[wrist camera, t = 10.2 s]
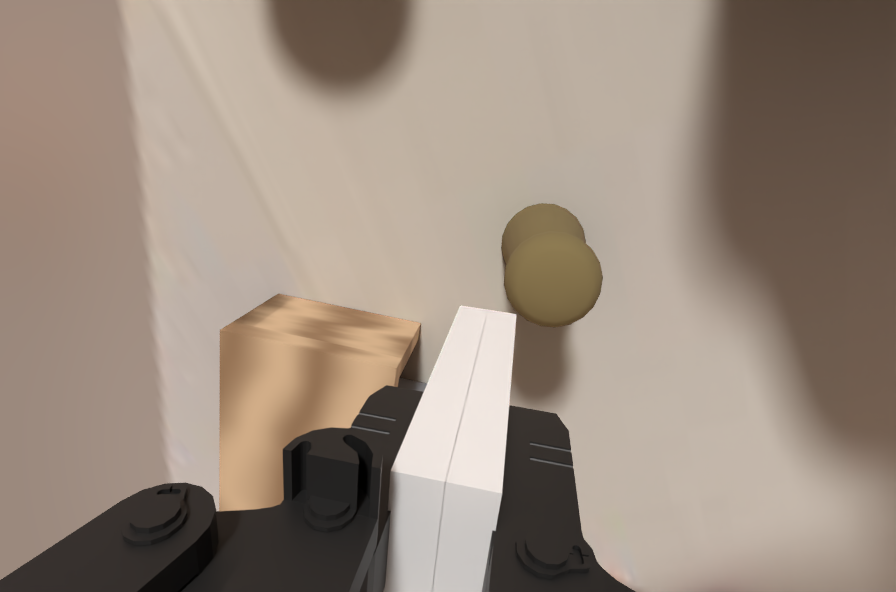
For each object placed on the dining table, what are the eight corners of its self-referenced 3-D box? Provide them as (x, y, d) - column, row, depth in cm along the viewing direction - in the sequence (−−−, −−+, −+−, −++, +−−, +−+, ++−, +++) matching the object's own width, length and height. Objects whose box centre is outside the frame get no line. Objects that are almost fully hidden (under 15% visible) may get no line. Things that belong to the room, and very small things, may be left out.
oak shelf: (420, 323, 37) (396, 368, 30) (393, 500, 43) (366, 576, 36) (278, 293, 38) (219, 330, 31) (270, 471, 44) (219, 538, 36)
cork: (586, 281, 34) (617, 340, 24) (504, 287, 35) (499, 346, 25) (584, 199, 33) (616, 224, 22) (498, 207, 34) (490, 235, 23)
